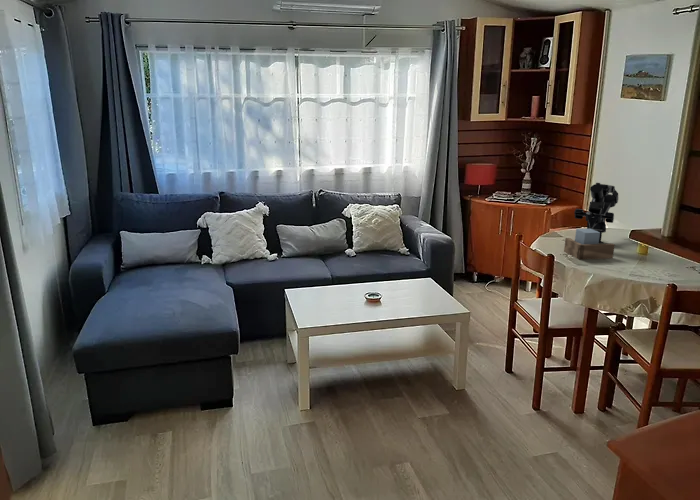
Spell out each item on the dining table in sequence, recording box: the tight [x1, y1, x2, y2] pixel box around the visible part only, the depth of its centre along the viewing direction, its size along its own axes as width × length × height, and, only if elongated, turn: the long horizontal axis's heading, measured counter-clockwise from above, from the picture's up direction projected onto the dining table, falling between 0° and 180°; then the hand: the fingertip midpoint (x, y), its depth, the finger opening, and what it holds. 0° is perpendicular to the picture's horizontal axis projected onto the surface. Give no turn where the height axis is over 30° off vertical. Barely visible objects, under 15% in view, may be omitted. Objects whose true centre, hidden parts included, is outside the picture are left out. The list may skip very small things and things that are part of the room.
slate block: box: [574, 228, 600, 244], centre depth 281 cm, size 8×8×12 cm
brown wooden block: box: [563, 237, 615, 260], centre depth 280 cm, size 14×18×7 cm
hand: (590, 229), depth 287 cm, fingers closed
